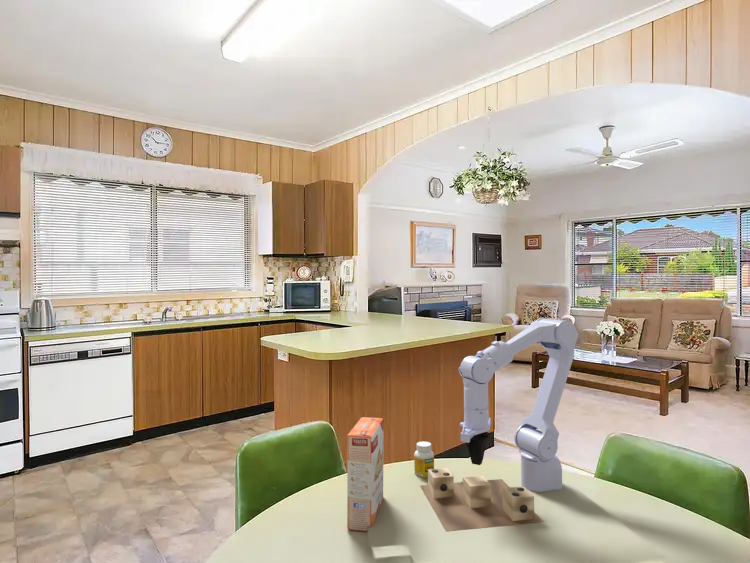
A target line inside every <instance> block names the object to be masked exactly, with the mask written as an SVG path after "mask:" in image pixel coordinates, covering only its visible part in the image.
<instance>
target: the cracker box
mask: <svg viewBox="0 0 750 563" xmlns="http://www.w3.org/2000/svg"><path fill="white" fill-rule="evenodd" d="M384 423H385V421H384V418H383V417H369V416H368V417H365V416H362V417H360V418H359V420H358V421H357V423H356V424H355V425H354V426H353V428H352V429H351V430H350V431H349V433H348V434H347V445H346V446H347V466H346V467H347V469H346V470H347V476H346V477H347V480H346V481H347V482H346V484H347V485H346V486H347V490H346V491H347V492H346V493H347V494H346V496H347V502H346V503H347V504H346V505H347V506H346V508H347V513H346V515H347V516H346V517H347V518H346V520H347V522H346V524H347V525H346V526H347V527H346V528H347V530H348V531H357V532H366V533H367V532H369V530H368V527H373V525H374V522H375V520H376V518H377V516H378V512H379V510H380V508H381V505H382V503H383V501H384V500H383V499H384V435H385V434H384Z"/></svg>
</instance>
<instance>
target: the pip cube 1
mask: <svg viewBox="0 0 750 563" xmlns="http://www.w3.org/2000/svg"><path fill="white" fill-rule="evenodd" d="M454 478H455V477H454V475H453V474H452V473H451V470H449V468H448V467H443V468H434V469H428V478H427V485H428V490H429V492H430V493H431V495H432V497H433V498H434V499H435V498H447V497H454V483H455V481H454V480H455V479H454Z"/></svg>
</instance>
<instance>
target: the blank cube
mask: <svg viewBox="0 0 750 563" xmlns="http://www.w3.org/2000/svg"><path fill="white" fill-rule="evenodd" d="M487 480H488V479H486V477H485V476H484V475H476V476H465V477H464V476H463V477H462V482H463V499H464V500H465V501H466V503H467V504H468V506H469V507H470V508H479V507H490V506H491V484H490V483H489V482H488V481H487Z"/></svg>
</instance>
